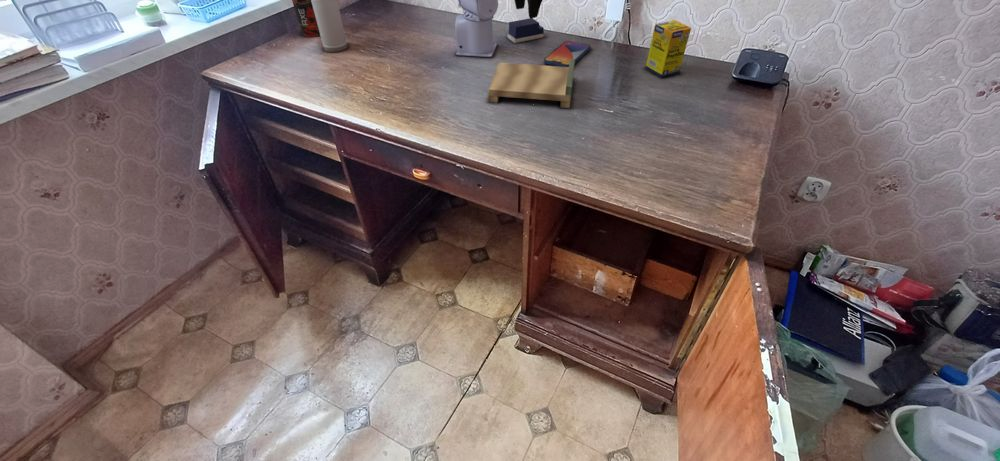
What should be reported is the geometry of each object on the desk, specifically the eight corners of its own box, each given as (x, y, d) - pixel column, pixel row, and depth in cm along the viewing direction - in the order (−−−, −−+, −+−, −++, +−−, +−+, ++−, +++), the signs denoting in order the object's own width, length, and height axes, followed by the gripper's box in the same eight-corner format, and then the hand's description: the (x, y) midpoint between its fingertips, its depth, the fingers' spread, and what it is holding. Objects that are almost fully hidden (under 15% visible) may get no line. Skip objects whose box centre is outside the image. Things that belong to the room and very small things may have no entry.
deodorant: (301, 37, 132) (284, -21, 121) (302, 30, 136) (286, -27, 125) (322, 35, 133) (307, -22, 122) (323, 28, 137) (309, -29, 126)
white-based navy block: (514, 43, 128) (514, 27, 125) (507, 37, 131) (507, 22, 128) (543, 37, 131) (544, 21, 128) (536, 32, 134) (536, 16, 131)
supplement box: (661, 78, 112) (672, 32, 105) (644, 68, 116) (654, 23, 108) (679, 73, 114) (692, 27, 107) (663, 63, 118) (673, 19, 110)
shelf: (488, 101, 104) (488, 80, 101) (499, 74, 114) (498, 54, 111) (569, 108, 102) (571, 86, 99) (572, 79, 112) (575, 59, 109)
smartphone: (591, 49, 125) (591, 45, 124) (569, 69, 115) (569, 65, 115) (565, 44, 128) (566, 40, 127) (542, 63, 118) (542, 59, 117)
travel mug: (318, 50, 125) (295, -33, 111) (333, 41, 129) (313, -40, 116) (337, 54, 123) (317, -30, 109) (352, 45, 128) (334, -37, 114)
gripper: (556, -39, 113) (552, 19, 123) (528, -53, 123) (527, 2, 132) (531, -36, 111) (529, 23, 121) (504, -49, 121) (504, 6, 130)
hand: (526, 12), depth 126 cm, fingers open, 7 cm apart
